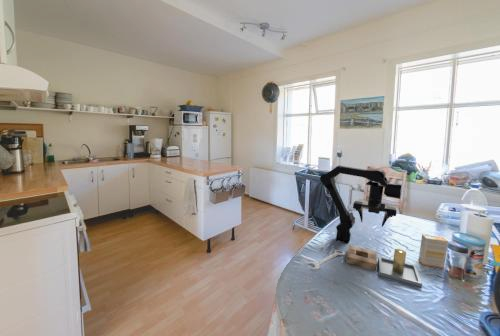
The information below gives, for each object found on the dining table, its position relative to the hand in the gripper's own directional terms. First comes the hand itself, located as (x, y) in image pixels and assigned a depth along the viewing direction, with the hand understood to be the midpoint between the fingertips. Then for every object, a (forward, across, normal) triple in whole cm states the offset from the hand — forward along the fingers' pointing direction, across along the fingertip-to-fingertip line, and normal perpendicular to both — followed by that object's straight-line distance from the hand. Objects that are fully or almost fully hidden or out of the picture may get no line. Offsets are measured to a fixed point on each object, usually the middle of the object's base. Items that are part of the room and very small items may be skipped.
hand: (371, 224), depth 112 cm
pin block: (+13, -2, -15) cm, 20 cm away
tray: (+13, +12, -18) cm, 25 cm away
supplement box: (+13, +25, -1) cm, 28 cm away
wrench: (+14, -16, -24) cm, 32 cm away
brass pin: (+12, +12, -18) cm, 24 cm away
